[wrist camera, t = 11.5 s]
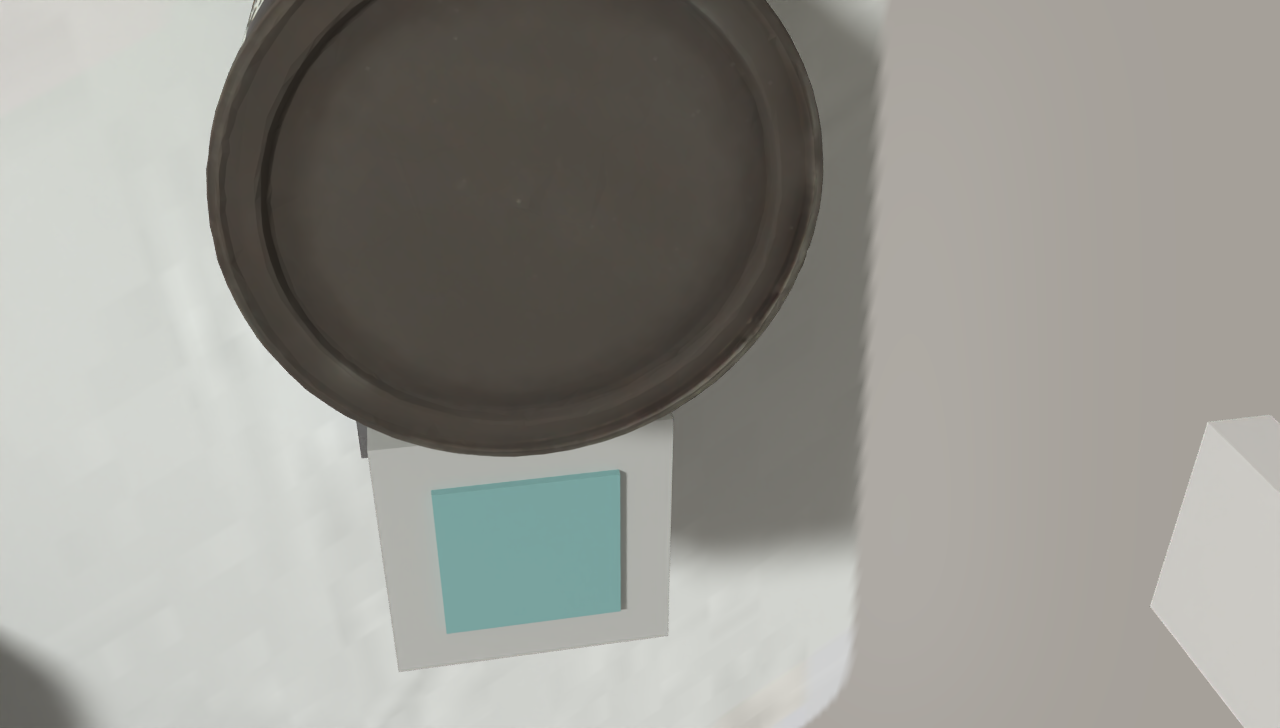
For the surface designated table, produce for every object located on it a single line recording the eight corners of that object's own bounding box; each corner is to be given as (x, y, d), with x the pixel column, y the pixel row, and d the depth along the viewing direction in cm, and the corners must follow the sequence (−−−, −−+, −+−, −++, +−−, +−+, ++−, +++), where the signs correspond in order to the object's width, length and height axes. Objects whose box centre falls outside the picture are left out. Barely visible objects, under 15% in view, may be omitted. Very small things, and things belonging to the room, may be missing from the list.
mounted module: (605, 420, 40) (669, 641, 32) (391, 442, 39) (398, 678, 31) (603, 229, 37) (675, 423, 28) (366, 248, 36) (367, 456, 27)
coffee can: (272, 158, 34) (222, 465, 22) (258, -258, 28) (182, -146, 17) (637, 174, 36) (767, 459, 24) (687, -208, 31) (886, -78, 19)
